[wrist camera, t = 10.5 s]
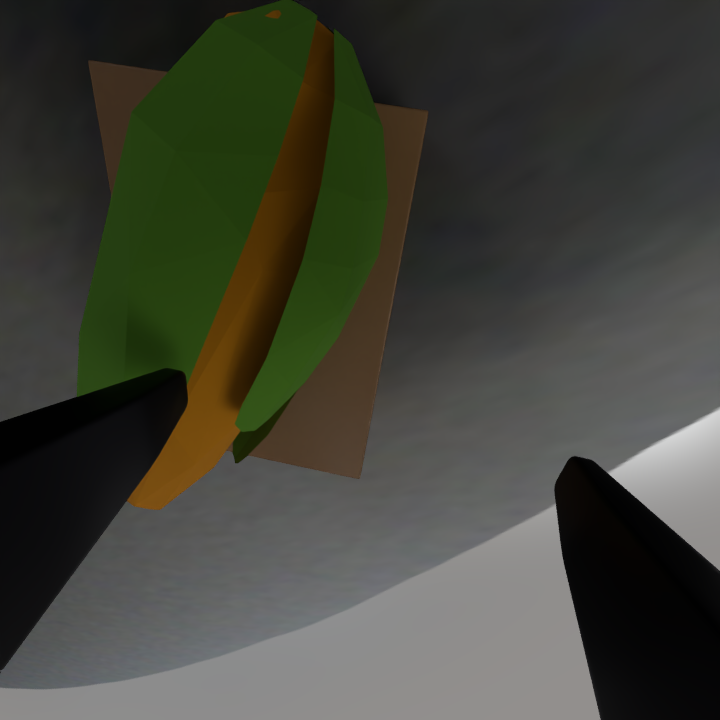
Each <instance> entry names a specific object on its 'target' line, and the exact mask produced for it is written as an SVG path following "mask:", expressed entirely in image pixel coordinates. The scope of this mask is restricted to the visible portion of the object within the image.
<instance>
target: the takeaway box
mask: <svg viewBox="0 0 720 720" xmlns="http://www.w3.org/2000/svg"><path fill="white" fill-rule="evenodd" d="M88 63H89V69H90V75H91V81H92V86H93V92H94V98H95V104H96V110H97V116H98V121H99V127H100V133H101V139H102V145H103V150H104V156H105V162H106V168H107V174H108V180H109V185H110V191H111V197H112V193H113V188H114V184H115V180H116V175H117V171H118V167H119V163H120V158H121V154H122V150H123V146H124V141H125V137H126V133H127V129H128V124H129V120H130V116H131V112H132V110H133V109H134V108H135V107H136V106H137V105H138V104H139V103H140V102H141V101H142V100H143V99H144V97H145V96H146V95H147V94H148V93H149V92H150V91H151V90H152V89H153V88H154V87H155V86H156V85H157V83H158V82H159V81H160V80H161V79H162V78H163V77H164V76H165V75H166V74H167V73H168V72H166V71H159V70H153V69H146V68H139V67H132V66H126V65H119V64H112V63H106V62H99V61H92V60H90V61H89V62H88ZM374 105H375V107H376V110H377V113H378V115H379V118H380V120H381V123H382V126H383V134H384V148H385V162H386V176H387V190H388V202H387V208H386V214H385V220H384V226H383V232H382V238H381V244H380V250H379V255H378V257H377V259H376V261H375V263H374V265H373V267H372V269H371V271H370V273H369V275H368V277H367V280H366V282H365V284H364V286H363V288H362V290H361V292H360V294H359V296H358V298H357V300H356V302H355V304H354V306H353V308H352V310H351V312H350V314H349V316H348V318H347V320H346V322H345V324H344V326H343V328H342V330H341V333H340V335H339V337H338V338H337V340H336V341H335V343H334V344H333V345H332V347H331V348H330V349H329V351H328V352H327V353H326V355H325V356H324V357H323V359H322V360H321V361H320V363H319V364H318V365H317V367H316V368H315V369H314V371H313V372H312V374H311V375H310V376H309V378H308V379H307V380H306V382H305V383H304V384H303V385H302V386H301V387H300V388H299V389H298V390H297V392H296V393H295V395H294V396H293V398H292V399H291V401H290V402H289V404H288V405H287V407H286V408H285V410H284V411H283V413H282V415H281V416H280V418H279V419H278V421H277V422H276V424H275V425H274V427H273V428H272V430H271V431H270V433H269V434H268V436H267V437H266V438H265V439H264V440H263V441H262V442H261V443H260V444H259V445H258V446H257V447H256V448H255V449H254V450H253V451H252V452H251V453H250V454H249V456H254V457H258V458H263V459H268V460H272V461H277V462H282V463H286V464H291V465H296V466H300V467H305V468H310V469H314V470H319V471H323V472H328V473H333V474H337V475H342V476H347V477H351V478H356V479H359V478H360V475H361V470H362V465H363V460H364V454H365V449H366V444H367V438H368V433H369V428H370V422H371V417H372V412H373V406H374V401H375V396H376V390H377V385H378V380H379V374H380V369H381V364H382V358H383V353H384V348H385V342H386V337H387V332H388V326H389V321H390V316H391V310H392V305H393V300H394V294H395V289H396V284H397V278H398V273H399V268H400V262H401V257H402V252H403V246H404V241H405V236H406V230H407V225H408V220H409V214H410V209H411V204H412V198H413V193H414V188H415V182H416V177H417V172H418V166H419V161H420V156H421V150H422V145H423V140H424V134H425V129H426V124H427V118H428V111H427V110H420V109H414V108H407V107H400V106H394V105H387V104H380V103H374ZM226 451H230V452H233V442H232V443H231V445H230V446H229V447H228V449H227V450H226Z"/></svg>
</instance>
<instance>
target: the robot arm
mask: <svg viewBox="0 0 720 720" xmlns="http://www.w3.org/2000/svg"><path fill="white" fill-rule="evenodd" d="M187 404H188V392H187V381H186V375H185V373H184V372H183V371H181V370H176V369H172V368H164V369H161V370H158V371H154V372H151V373H148V374H145V375H142V376H139V377H136V378H133V379H130V380H127V381H124V382H121V383H118V384H115V385H112V386H109V387H106V388H103V389H99V390H96V391H93V392H90V393H87V394H84V395H81V396H78V397H75V398H72V399H69V400H66V401H63V402H60V403H57V404H54V405H51V406H48V407H44V408H41V409H38V410H35V411H32V412H29V413H26V414H23V415H20V416H17V417H14V418H11V419H8V420H5V421H2V422H0V670H2V669H3V668H4V667H5V666H6V664H7V663H8V662H9V660H10V659H11V658H12V656H13V655H14V654H15V652H16V651H17V649H18V648H19V647H20V645H21V644H22V643H23V641H24V640H25V639H26V637H27V636H28V634H29V633H30V632H31V630H32V629H33V628H34V626H35V625H36V624H37V622H38V621H39V619H40V618H41V617H42V615H43V614H44V613H45V611H46V610H47V609H48V607H49V606H50V604H51V603H52V602H53V600H54V599H55V598H56V596H57V595H58V594H59V592H60V591H61V589H62V588H63V587H64V585H65V584H66V583H67V581H68V580H69V579H70V577H71V576H72V574H73V573H74V572H75V570H76V569H77V568H78V566H79V565H80V564H81V562H82V561H83V560H84V558H85V557H86V555H87V554H88V553H89V551H90V550H91V549H92V547H93V546H94V545H95V543H96V542H97V540H98V539H99V538H100V536H101V535H102V534H103V532H104V531H105V530H106V528H107V527H108V525H109V524H110V523H111V521H112V520H113V519H114V517H115V516H116V515H117V513H118V512H119V510H120V509H121V508H122V506H123V505H124V504H125V502H126V501H127V500H128V498H129V497H130V495H131V494H132V493H133V491H134V490H135V489H136V487H137V486H138V485H139V483H140V482H141V480H142V479H143V478H144V476H145V475H146V474H147V472H148V471H149V470H150V468H151V467H152V465H153V464H154V462H155V461H156V459H157V458H158V456H159V454H160V453H161V451H162V449H163V448H164V446H165V444H166V442H167V441H168V439H169V437H170V435H171V434H172V432H173V430H174V429H175V427H176V425H177V423H178V422H179V420H180V418H181V416H182V415H183V413H184V411H185V409H186V407H187ZM554 491H555V500H556V509H557V516H558V525H559V533H560V541H561V549H562V556H563V560H564V565H565V570H566V574H567V578H568V582H569V587H570V591H571V595H572V600H573V604H574V608H575V612H576V616H577V621H578V625H579V629H580V634H581V638H582V641H583V646H584V650H585V655H586V659H587V663H588V667H589V672H590V676H591V680H592V684H593V689H594V693H595V697H596V701H597V706H598V709H599V714H600V718H601V720H720V571H719V570H718V569H717V568H716V567H715V566H713V565H712V564H711V563H710V562H709V561H708V560H707V559H705V558H704V557H703V556H702V555H701V554H700V553H699V552H697V551H696V550H695V549H694V548H693V547H692V546H691V545H689V544H688V543H687V542H686V541H685V540H684V539H683V538H681V537H680V536H679V535H678V534H677V533H675V532H674V531H673V530H672V529H671V528H670V527H669V526H667V525H666V524H665V523H664V522H663V521H662V520H660V519H659V518H658V517H657V516H656V515H655V514H654V513H653V512H651V511H650V510H649V509H648V508H647V507H646V506H645V505H643V504H642V503H641V502H640V501H639V500H638V499H637V498H635V497H634V496H633V495H632V494H631V493H630V492H628V491H627V490H626V489H625V488H624V487H623V486H622V485H620V484H619V483H618V482H617V481H616V480H615V479H614V478H612V477H611V476H610V475H609V474H608V473H607V472H606V471H604V470H603V469H602V468H601V467H600V466H599V465H598V464H596V463H595V462H594V461H592V460H590V459H586V458H581V457H577V456H574V457H571V458H570V459H569V460H568V461H567V463H566V465H565V467H564V468H563V470H562V472H561V473H560V475H559V477H558V479H557V481H556V483H555V490H554ZM0 673H1V672H0Z"/></svg>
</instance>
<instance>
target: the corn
mask: <svg viewBox="0 0 720 720" xmlns="http://www.w3.org/2000/svg"><path fill="white" fill-rule="evenodd" d="M327 28H328V27H327ZM327 28H326V27H325V26H323V25H322V24H321V23H320V22H319V21H318V20H317V15H316V14H314V13H313V12H312V11H310V10H309V9H307V8H305V7H303V6H302V5H300V4H298V3H296V2H294V1H292V0H281V1H277V2H274V3H271V4H267V5H264V6H261V7H258V8H254V9H251V10H248V11H243V12H234V13H228V14H227V15H226V16H225V17H224V18H221V19H218V20H216V21H215V22H214V23H213V24H212V25H211V26H210V27H209V28H208V29H207V30H206V31H205V33H204V34H203V35H202V36H201V37H200V38H199V39H198V40H197V41H196V42H195V43H194V44H193V46H192V47H191V48H190V49H189V50H188V51H187V52H186V53H185V54H184V55H183V56H182V57H181V59H180V60H179V61H178V62H177V63H176V64H175V65H174V66H173V67H172V68H171V69H170V70H169V72H168V73H167V74H166V75H165V76H164V77H163V78H162V79H161V80H160V81H159V82H158V83H157V85H156V86H155V87H154V88H153V89H152V90H151V91H150V92H149V93H148V94H147V95H146V96H145V97H144V99H143V100H142V101H141V102H140V103H139V104H138V105H137V106H136V107H135V108H134V109H133V110H132V112H131V116H130V120H129V124H128V129H127V133H126V137H125V141H124V146H123V150H122V154H121V158H120V163H119V167H118V171H117V175H116V180H115V184H114V188H113V193H112V197H111V201H110V205H109V210H108V214H107V218H106V222H105V227H104V231H103V235H102V239H101V244H100V248H99V252H98V256H97V261H96V265H95V269H94V273H93V278H92V282H91V286H90V290H89V295H88V299H87V303H86V307H85V312H84V316H83V320H82V324H81V329H80V333H79V356H78V381H77V397H78V396H81V395H84V394H87V393H90V392H93V391H96V390H99V389H103V388H106V387H109V386H112V385H115V384H118V383H121V382H124V381H127V380H130V379H133V378H136V377H139V376H142V375H145V374H148V373H151V372H154V371H158V370H161V369H164V368H172V369H176V370H181V371H183V372H184V373H185V375H186V381H187V392H188V404H187V407H186V409H185V411H184V413H183V415H182V416H181V418H180V420H179V422H178V423H177V425H176V427H175V429H174V430H173V432H172V434H171V435H170V437H169V439H168V441H167V442H166V444H165V446H164V448H163V449H162V451H161V453H160V454H159V456H158V458H157V459H156V461H155V462H154V464H153V465H152V467H151V468H150V470H149V471H148V472H147V474H146V475H145V476H144V478H143V479H142V480H141V482H140V483H139V485H138V486H137V487H136V489H135V490H134V491H133V493H132V494H131V495H130V497H129V498H128V500H127V501H128V502H129V503H130V504H132V505H133V506H135V507H141V508H146V509H154V510H160V509H162V508H163V507H164V506H165V505H167V504H168V503H169V502H171V501H172V500H173V499H174V498H176V497H177V496H178V495H179V494H181V493H182V492H183V491H184V490H186V489H187V488H188V487H190V486H191V485H192V484H193V483H195V482H196V481H197V480H198V479H200V478H201V477H202V476H204V475H205V474H206V473H207V472H209V471H210V470H211V469H212V468H214V466H215V465H216V464H217V462H218V461H219V459H220V458H221V457H222V455H223V454H224V453H225V451H226V450H227V449H228V447H229V446H230V445H231V443H232V442H233V455H234V458H235V463H239V462H240V461H241V460H243V459H244V458H245V457H247V456H248V455H249V454H250V453H251V452H252V451H253V450H254V449H255V448H256V447H257V446H258V445H259V444H260V443H261V442H262V441H263V440H264V439H265V438H266V437H267V436H268V434H269V433H270V431H271V430H272V428H273V427H274V425H275V424H276V422H277V421H278V419H279V418H280V416H281V415H282V413H283V411H284V410H285V408H286V407H287V405H288V404H289V402H290V401H291V399H292V398H293V396H294V395H295V393H296V392H297V390H298V389H299V388H300V387H301V386H302V385H303V384H304V383H305V382H306V380H307V379H308V378H309V376H310V375H311V374H312V372H313V371H314V369H315V368H316V367H317V365H318V364H319V363H320V361H321V360H322V359H323V357H324V356H325V355H326V353H327V352H328V351H329V349H330V348H331V347H332V345H333V344H334V343H335V341H336V340H337V338H338V337H339V335H340V333H341V330H342V328H343V326H344V324H345V322H346V320H347V318H348V316H349V314H350V312H351V310H352V308H353V306H354V304H355V302H356V300H357V298H358V296H359V294H360V292H361V290H362V288H363V286H364V284H365V282H366V280H367V277H368V275H369V273H370V271H371V269H372V267H373V265H374V263H375V261H376V259H377V257H378V255H379V250H380V244H381V238H382V232H383V226H384V220H385V214H386V208H387V202H388V190H387V176H386V162H385V148H384V134H383V126H382V123H381V120H380V118H379V115H378V113H377V110H376V107H375V105H374V102H373V99H372V97H371V94H370V91H369V89H368V86H367V83H366V81H365V78H364V75H363V73H362V70H361V67H360V65H359V62H358V59H357V57H356V54H355V51H354V49H353V46H352V44H351V43H350V42H349V41H348V40H347V39H345V38H344V37H343V36H342V35H341V34H340V33H339V32H338V31H337V30H335V29H334V33H333V32H332V31H331V30H330V29H329V28H328V29H327Z"/></svg>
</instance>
